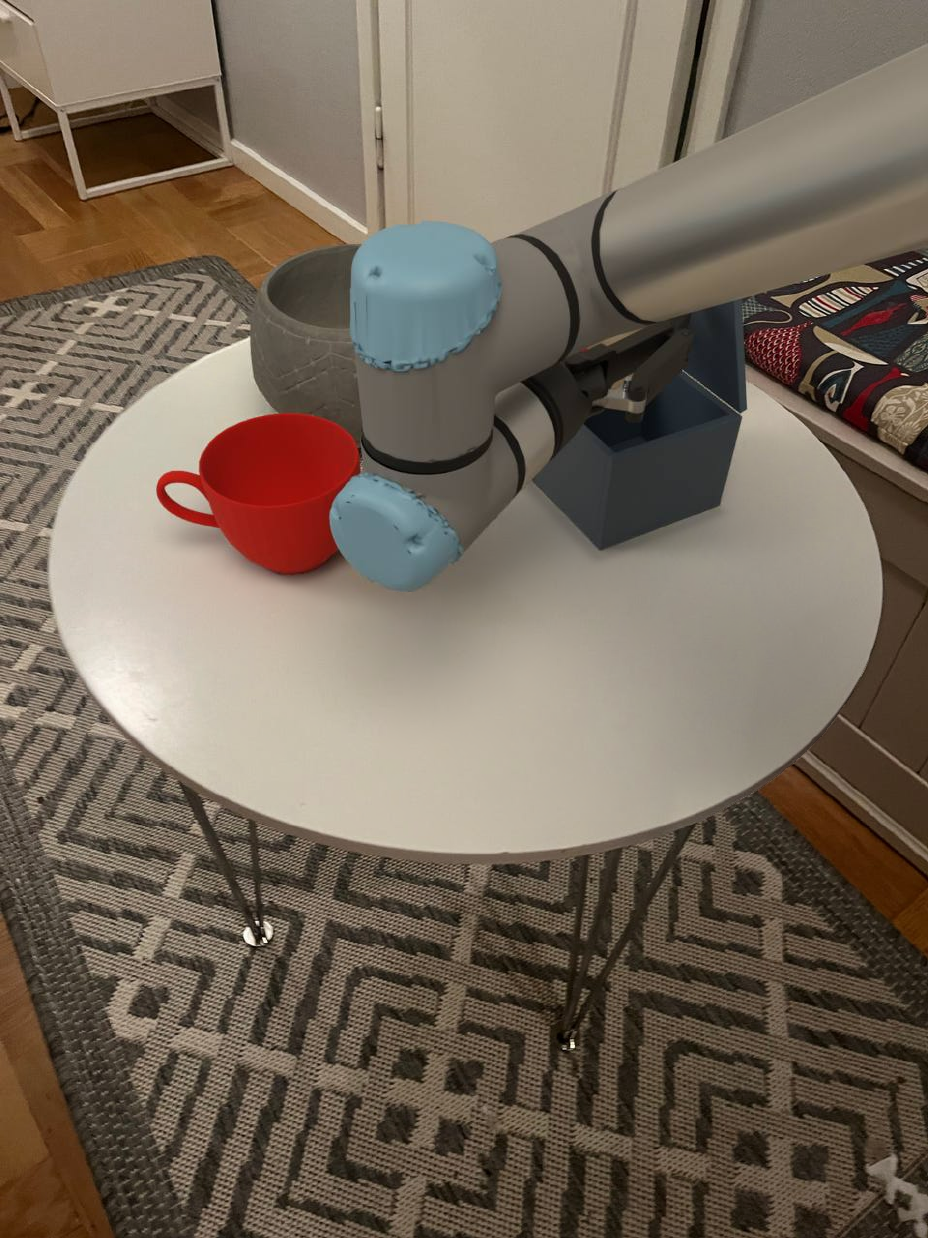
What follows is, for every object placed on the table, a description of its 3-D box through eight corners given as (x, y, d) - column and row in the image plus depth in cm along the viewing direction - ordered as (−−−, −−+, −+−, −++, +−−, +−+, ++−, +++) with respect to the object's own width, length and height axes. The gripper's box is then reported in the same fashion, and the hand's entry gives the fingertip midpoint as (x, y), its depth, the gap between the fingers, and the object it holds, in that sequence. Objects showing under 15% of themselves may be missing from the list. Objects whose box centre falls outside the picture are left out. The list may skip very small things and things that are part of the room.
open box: (599, 550, 85) (612, 460, 78) (526, 474, 92) (532, 386, 85) (720, 505, 89) (742, 416, 82) (640, 436, 97) (655, 349, 90)
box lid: (732, 273, 71) (814, 222, 71) (632, 210, 78) (707, 165, 79) (740, 414, 82) (810, 368, 83) (652, 347, 90) (718, 306, 90)
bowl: (220, 436, 97) (191, 296, 86) (349, 348, 109) (338, 216, 98) (387, 510, 88) (378, 366, 78) (506, 406, 101) (512, 269, 90)
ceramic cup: (183, 509, 88) (159, 417, 81) (366, 500, 89) (358, 408, 82) (165, 608, 79) (136, 514, 72) (369, 596, 80) (360, 502, 73)
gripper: (398, 426, 70) (551, 299, 83) (628, 514, 63) (754, 359, 77) (393, 332, 64) (558, 213, 78) (644, 417, 57) (776, 270, 71)
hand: (654, 286), depth 77 cm, fingers closed on candle, 6 cm apart
